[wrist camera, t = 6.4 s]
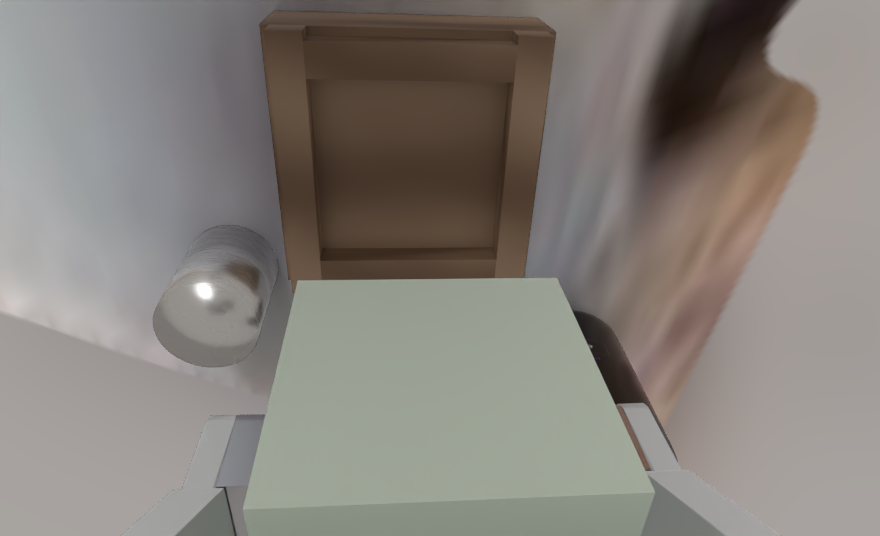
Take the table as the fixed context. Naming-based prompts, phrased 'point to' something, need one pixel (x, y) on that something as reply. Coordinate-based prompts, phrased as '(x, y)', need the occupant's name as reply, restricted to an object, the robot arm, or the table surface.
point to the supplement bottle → (613, 364)
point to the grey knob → (218, 298)
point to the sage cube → (441, 417)
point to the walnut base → (406, 141)
